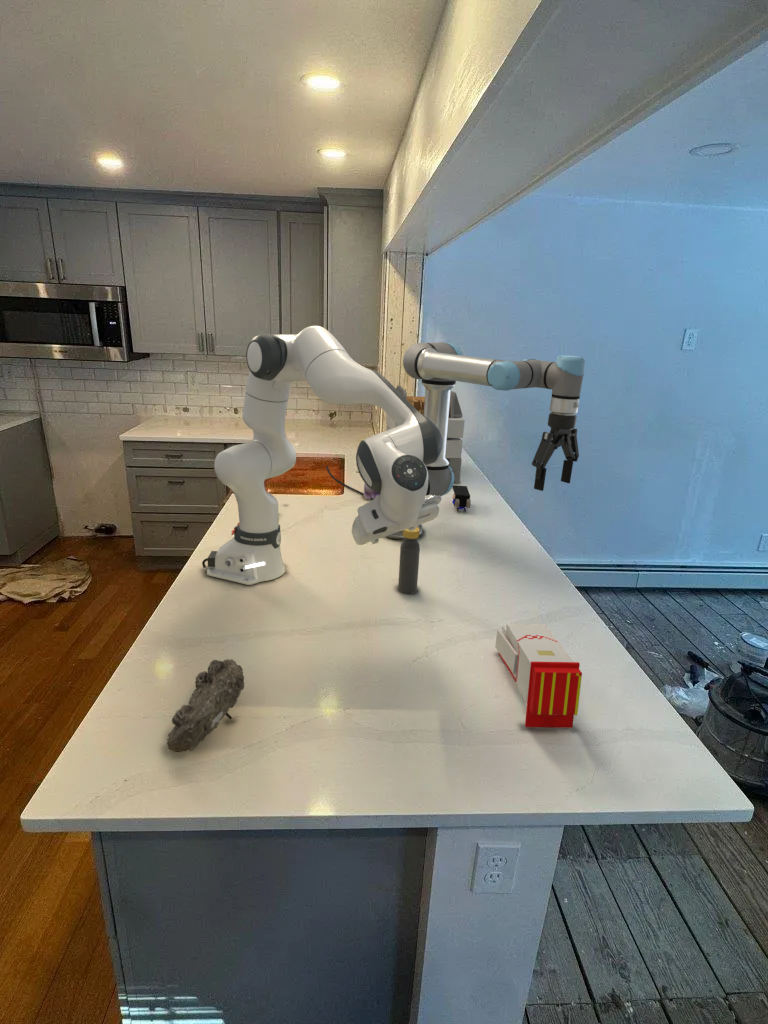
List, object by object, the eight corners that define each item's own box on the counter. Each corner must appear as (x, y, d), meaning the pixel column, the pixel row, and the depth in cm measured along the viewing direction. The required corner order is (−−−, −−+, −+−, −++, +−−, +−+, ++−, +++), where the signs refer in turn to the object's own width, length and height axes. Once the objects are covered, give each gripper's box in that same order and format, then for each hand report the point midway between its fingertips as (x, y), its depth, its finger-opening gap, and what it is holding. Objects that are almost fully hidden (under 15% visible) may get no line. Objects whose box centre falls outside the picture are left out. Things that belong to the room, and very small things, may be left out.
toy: (542, 608, 134) (591, 669, 104) (537, 660, 136) (583, 734, 107) (491, 607, 133) (526, 668, 104) (487, 660, 136) (520, 733, 107)
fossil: (192, 660, 117) (244, 628, 112) (224, 691, 120) (276, 661, 115) (142, 746, 98) (202, 712, 93) (182, 779, 101) (242, 748, 96)
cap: (400, 533, 157) (401, 526, 156) (416, 532, 158) (416, 525, 157) (405, 539, 153) (405, 532, 152) (421, 538, 154) (421, 531, 153)
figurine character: (470, 516, 223) (465, 500, 237) (473, 499, 220) (467, 484, 233) (453, 516, 223) (449, 500, 236) (455, 498, 220) (451, 483, 233)
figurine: (368, 501, 231) (369, 466, 226) (357, 494, 239) (358, 459, 234) (388, 499, 235) (390, 464, 230) (377, 492, 244) (378, 458, 239)
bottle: (395, 585, 163) (399, 527, 157) (413, 584, 164) (417, 526, 158) (401, 594, 158) (404, 534, 152) (419, 592, 159) (423, 533, 153)
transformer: (382, 463, 289) (386, 382, 275) (445, 464, 293) (451, 384, 279) (390, 482, 257) (394, 392, 243) (460, 483, 261) (468, 394, 247)
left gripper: (436, 481, 125) (426, 509, 138) (350, 510, 120) (347, 536, 132) (449, 505, 123) (437, 531, 135) (361, 535, 118) (357, 560, 130)
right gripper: (548, 419, 148) (537, 496, 155) (598, 411, 163) (586, 482, 171) (525, 414, 153) (515, 489, 160) (575, 407, 169) (564, 476, 176)
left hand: (392, 534), depth 134 cm, fingers open, 8 cm apart
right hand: (552, 485), depth 166 cm, fingers open, 13 cm apart
